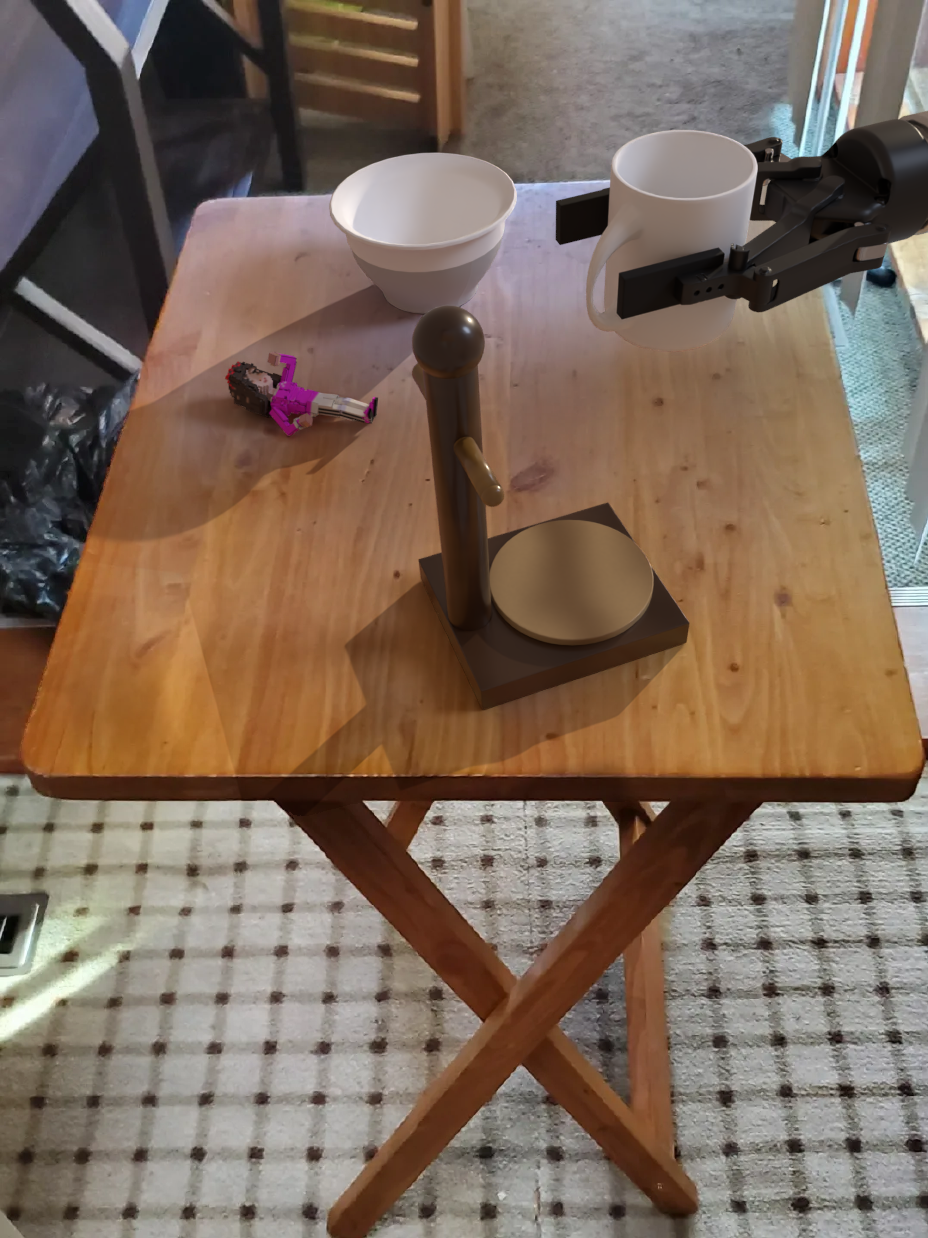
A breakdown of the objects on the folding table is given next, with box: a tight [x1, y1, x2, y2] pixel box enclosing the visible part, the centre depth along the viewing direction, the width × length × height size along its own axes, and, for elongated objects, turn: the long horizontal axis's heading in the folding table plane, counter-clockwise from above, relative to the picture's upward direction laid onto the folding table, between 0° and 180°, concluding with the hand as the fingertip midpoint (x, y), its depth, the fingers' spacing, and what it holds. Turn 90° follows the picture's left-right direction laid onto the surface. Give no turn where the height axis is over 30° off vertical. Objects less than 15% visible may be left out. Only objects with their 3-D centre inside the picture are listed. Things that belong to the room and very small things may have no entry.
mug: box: [585, 129, 758, 353], centre depth 68 cm, size 9×12×11 cm
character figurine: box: [224, 351, 379, 437], centre depth 84 cm, size 6×5×12 cm
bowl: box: [328, 152, 518, 315], centre depth 94 cm, size 16×16×8 cm
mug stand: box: [411, 305, 690, 711], centre depth 62 cm, size 14×12×24 cm
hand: (588, 258), depth 67 cm, fingers closed on mug, 9 cm apart
